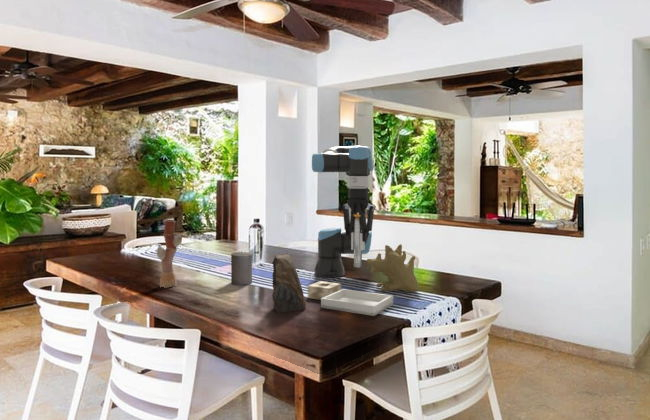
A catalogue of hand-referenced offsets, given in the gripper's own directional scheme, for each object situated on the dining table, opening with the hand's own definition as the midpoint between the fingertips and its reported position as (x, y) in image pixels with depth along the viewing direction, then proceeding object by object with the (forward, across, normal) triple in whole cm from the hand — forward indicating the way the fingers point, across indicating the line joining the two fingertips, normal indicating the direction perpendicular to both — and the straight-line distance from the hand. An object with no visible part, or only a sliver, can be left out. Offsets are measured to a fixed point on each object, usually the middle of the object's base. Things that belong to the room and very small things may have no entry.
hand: (357, 249), depth 184 cm
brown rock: (+22, -21, -16) cm, 34 cm away
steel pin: (+7, 0, 0) cm, 7 cm away
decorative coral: (+22, +1, +34) cm, 41 cm away
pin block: (+22, -18, +6) cm, 29 cm away
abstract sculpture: (+22, -87, -13) cm, 91 cm away
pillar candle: (+22, -64, +9) cm, 68 cm away
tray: (+22, 0, 0) cm, 22 cm away
